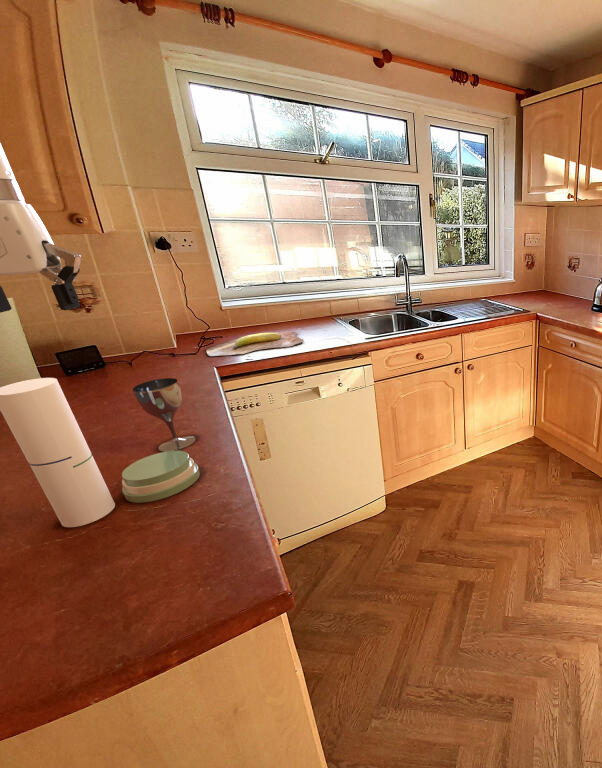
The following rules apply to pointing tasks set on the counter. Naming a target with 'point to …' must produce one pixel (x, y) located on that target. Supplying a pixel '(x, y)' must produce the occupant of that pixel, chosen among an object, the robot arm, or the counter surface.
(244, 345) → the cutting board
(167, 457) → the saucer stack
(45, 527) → the counter surface
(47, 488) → the cylindrical container
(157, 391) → the wine glass
